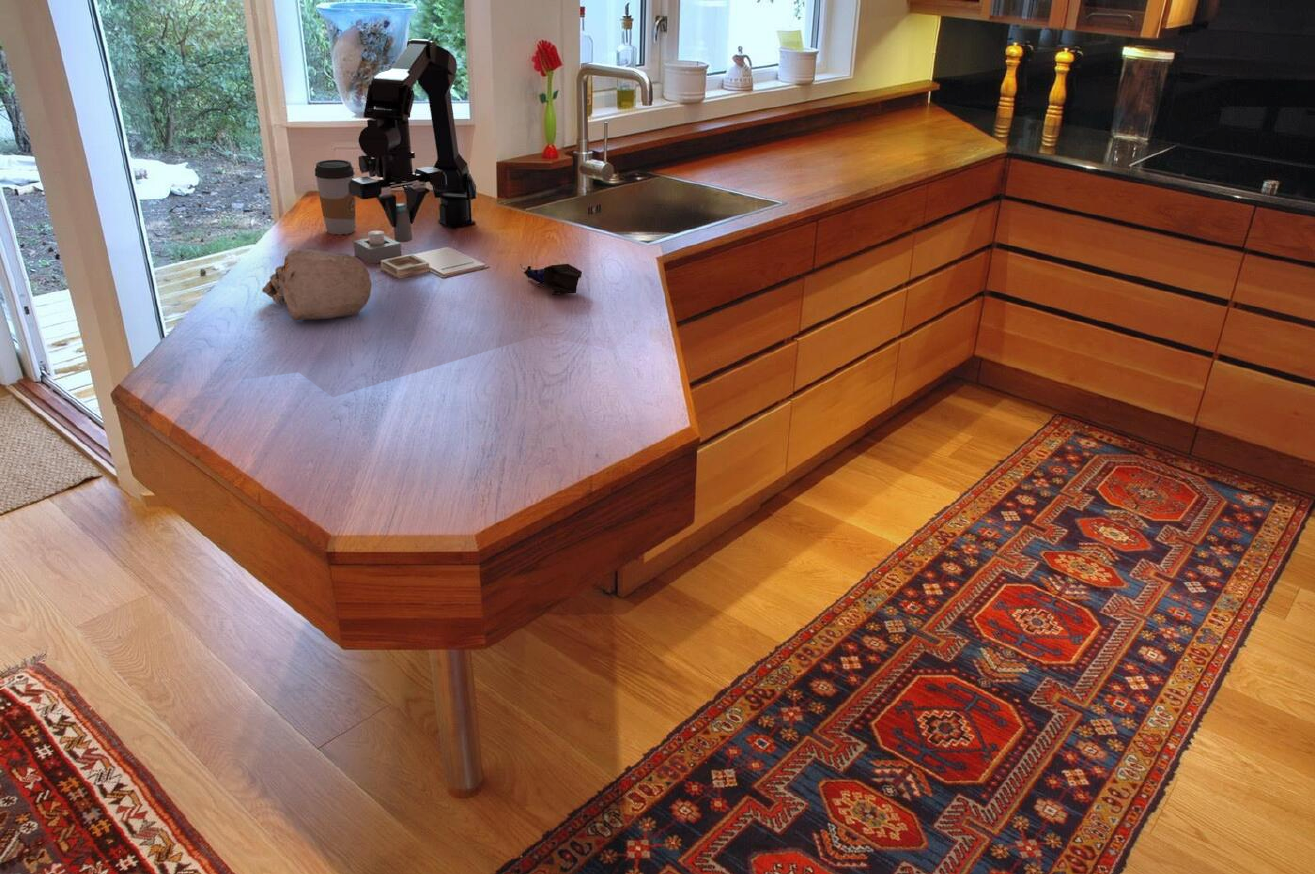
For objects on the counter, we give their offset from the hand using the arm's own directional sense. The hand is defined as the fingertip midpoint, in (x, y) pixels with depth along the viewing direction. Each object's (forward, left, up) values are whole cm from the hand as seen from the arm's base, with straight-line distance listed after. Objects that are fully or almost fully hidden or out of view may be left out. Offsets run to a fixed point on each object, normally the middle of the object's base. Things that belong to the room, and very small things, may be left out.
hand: (402, 225), depth 201 cm
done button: (0, -11, -7) cm, 13 cm away
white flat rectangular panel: (-9, +1, -9) cm, 13 cm away
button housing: (0, -11, -9) cm, 14 cm away
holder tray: (0, 0, -9) cm, 9 cm away
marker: (0, 0, -3) cm, 3 cm away
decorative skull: (+24, +10, -10) cm, 27 cm away
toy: (-17, +26, -10) cm, 33 cm away
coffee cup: (-2, -31, -10) cm, 33 cm away
